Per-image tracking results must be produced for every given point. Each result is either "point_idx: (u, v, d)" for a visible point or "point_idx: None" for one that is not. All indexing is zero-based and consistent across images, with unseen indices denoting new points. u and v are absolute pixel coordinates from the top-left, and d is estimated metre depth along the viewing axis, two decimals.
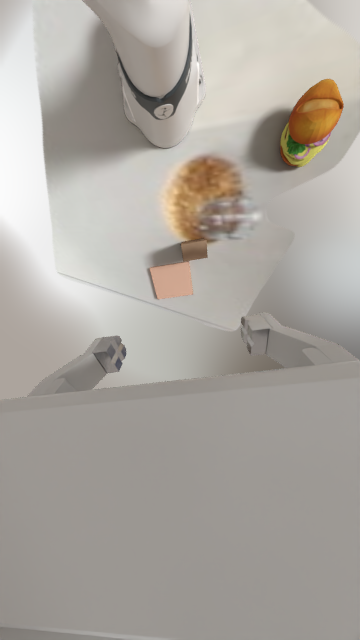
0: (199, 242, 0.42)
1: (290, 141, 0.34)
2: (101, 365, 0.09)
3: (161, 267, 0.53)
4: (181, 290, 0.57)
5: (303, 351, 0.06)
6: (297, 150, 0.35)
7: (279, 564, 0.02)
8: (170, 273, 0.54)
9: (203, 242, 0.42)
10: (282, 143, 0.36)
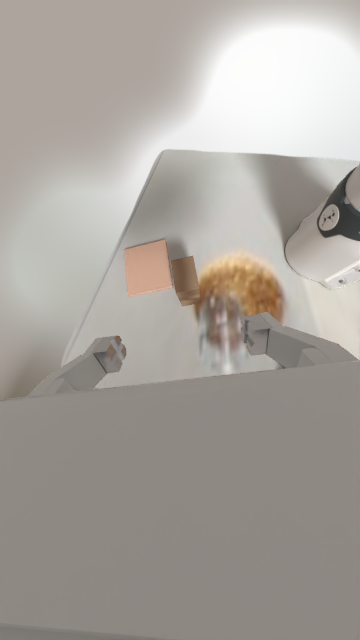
0: (195, 279, 0.29)
1: None
2: (101, 365, 0.09)
3: (165, 253, 0.41)
4: (134, 279, 0.40)
5: (303, 351, 0.06)
6: None
7: (279, 563, 0.02)
8: (157, 264, 0.40)
9: (195, 284, 0.29)
10: None
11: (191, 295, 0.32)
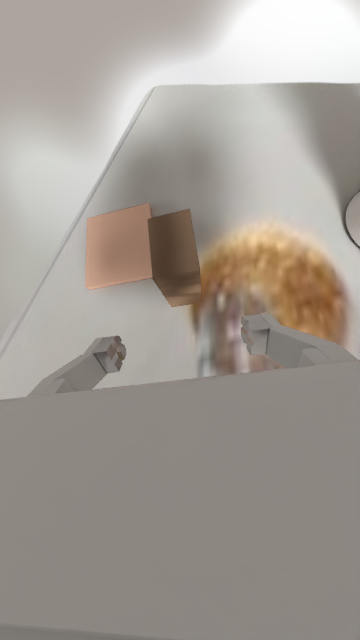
0: (193, 252, 0.14)
1: None
2: (101, 365, 0.09)
3: None
4: (97, 262, 0.26)
5: (303, 351, 0.06)
6: None
7: (279, 563, 0.02)
8: (135, 239, 0.26)
9: (193, 262, 0.14)
10: None
11: (185, 287, 0.17)
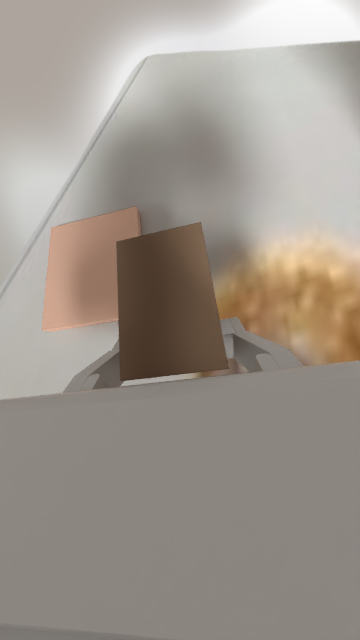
0: (212, 322, 0.06)
1: None
2: None
3: (134, 235, 0.18)
4: (61, 292, 0.18)
5: (256, 357, 0.06)
6: None
7: (279, 564, 0.02)
8: (115, 259, 0.18)
9: (213, 349, 0.06)
10: None
11: None
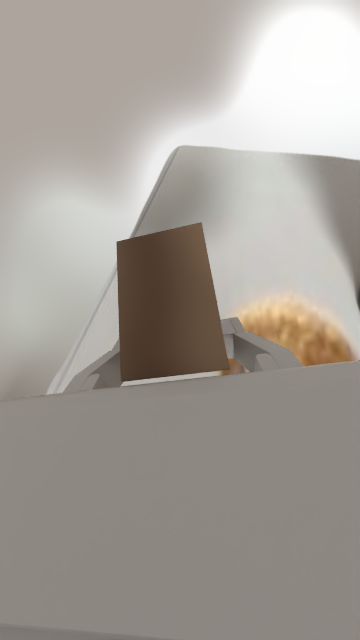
0: (213, 323, 0.06)
1: None
2: None
3: None
4: None
5: (256, 357, 0.06)
6: None
7: (279, 564, 0.02)
8: None
9: (214, 349, 0.06)
10: None
11: None
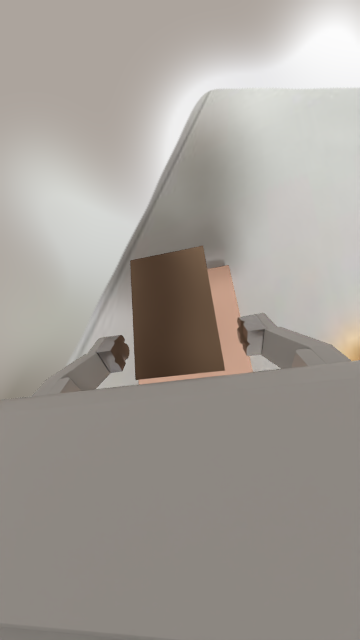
0: (212, 332, 0.08)
1: None
2: (105, 365, 0.09)
3: (232, 298, 0.17)
4: None
5: (297, 352, 0.06)
6: None
7: (279, 563, 0.02)
8: None
9: (212, 354, 0.07)
10: None
11: None
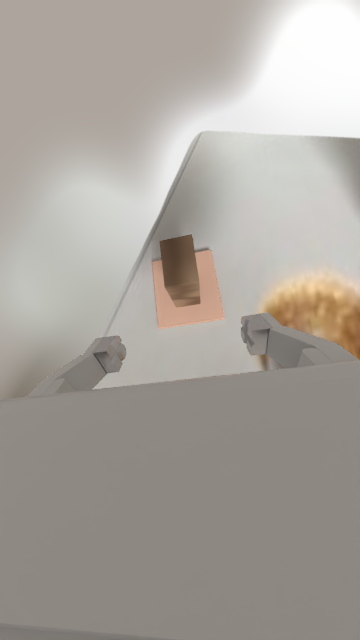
0: (194, 267, 0.19)
1: None
2: (101, 365, 0.09)
3: (212, 268, 0.29)
4: (167, 304, 0.29)
5: (303, 351, 0.06)
6: None
7: (280, 563, 0.02)
8: (201, 284, 0.28)
9: (194, 275, 0.19)
10: None
11: (188, 292, 0.22)
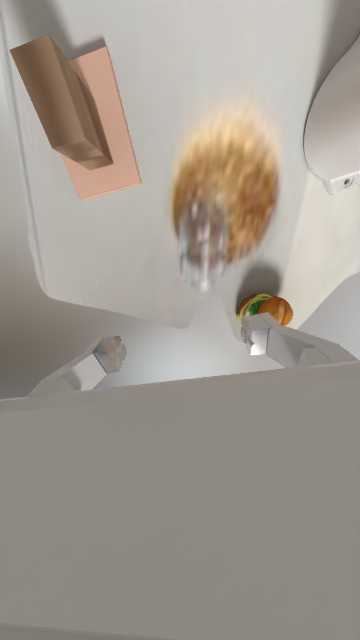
0: (74, 114, 0.18)
1: (260, 302, 0.36)
2: (101, 365, 0.09)
3: (116, 97, 0.22)
4: (78, 166, 0.26)
5: (303, 351, 0.06)
6: (251, 310, 0.37)
7: (279, 563, 0.02)
8: (108, 130, 0.24)
9: (78, 129, 0.18)
10: (258, 296, 0.37)
11: (86, 152, 0.21)
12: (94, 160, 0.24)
